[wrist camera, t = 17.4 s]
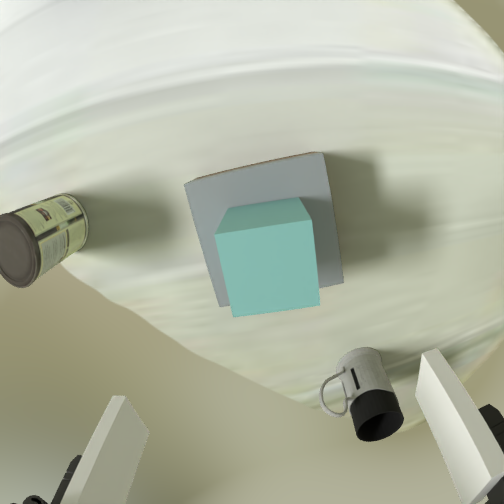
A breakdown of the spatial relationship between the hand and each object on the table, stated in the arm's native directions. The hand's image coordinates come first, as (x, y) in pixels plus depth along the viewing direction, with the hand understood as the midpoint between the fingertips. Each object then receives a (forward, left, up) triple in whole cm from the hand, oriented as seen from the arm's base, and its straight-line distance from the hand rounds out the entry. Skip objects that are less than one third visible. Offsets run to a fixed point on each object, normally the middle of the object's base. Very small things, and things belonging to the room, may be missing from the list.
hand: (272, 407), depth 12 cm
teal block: (0, 0, -25) cm, 25 cm away
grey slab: (0, 0, -29) cm, 29 cm away
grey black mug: (+17, +24, -33) cm, 44 cm away
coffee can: (+14, -30, -33) cm, 47 cm away
